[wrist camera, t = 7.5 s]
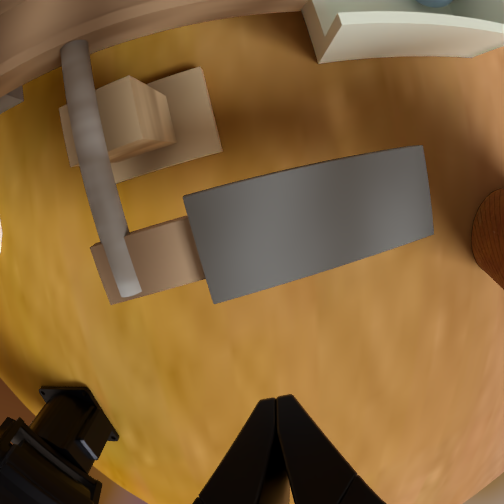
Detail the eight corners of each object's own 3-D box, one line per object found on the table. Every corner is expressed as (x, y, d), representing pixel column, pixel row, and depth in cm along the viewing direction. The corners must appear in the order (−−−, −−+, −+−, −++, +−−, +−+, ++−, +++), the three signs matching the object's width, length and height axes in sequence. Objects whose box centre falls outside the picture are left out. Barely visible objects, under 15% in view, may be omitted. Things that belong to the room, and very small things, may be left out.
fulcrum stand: (99, 189, 18) (41, 205, 12) (69, 15, 14) (19, -14, 9) (222, 151, 17) (203, 149, 11) (177, -32, 14) (151, -82, 8)
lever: (12, 322, 15) (-26, 361, 10) (-40, 40, 10) (-80, 21, 5) (379, 218, 17) (433, 234, 13) (298, -62, 12) (324, -105, 8)
